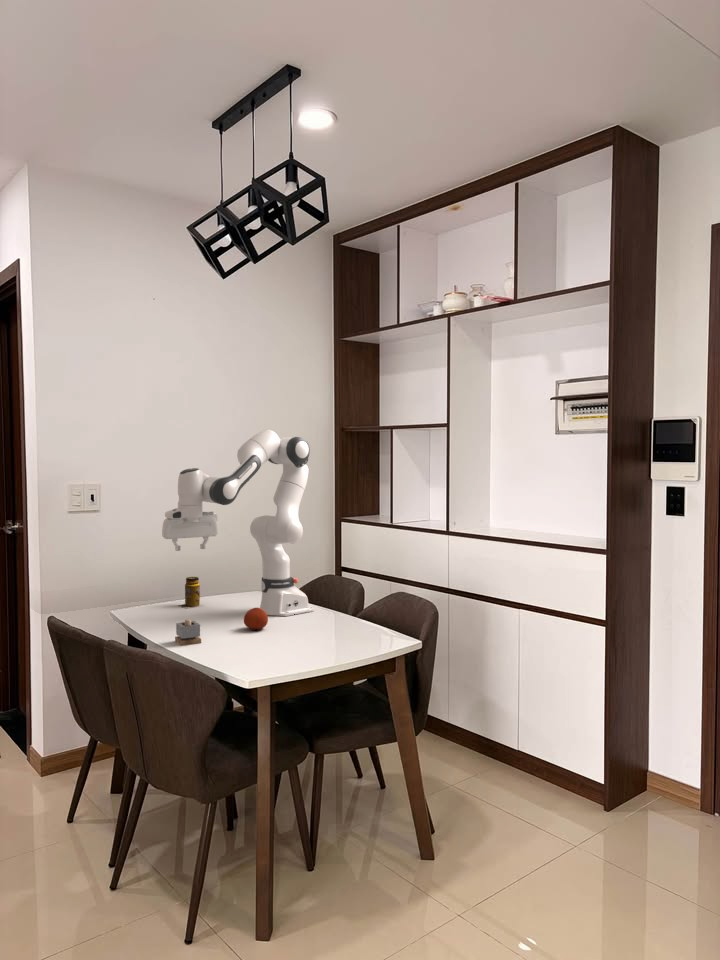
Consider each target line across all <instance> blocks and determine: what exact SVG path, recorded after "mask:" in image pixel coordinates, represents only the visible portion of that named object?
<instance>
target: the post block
mask: <svg viewBox="0 0 720 960" xmlns="http://www.w3.org/2000/svg"><path fill="white" fill-rule="evenodd" d="M191 621H192V620H191V619H185V620H184V622H185V626H187V625H191ZM174 641H175V643H177V644H178V645H179V646H181V647H182V646H190V645H195V644H196V645H197V644H201V643H202V638H201V636H198V637H191V638H183V639H182V638H180V637H179V636H178V635H176V636H175V637H174Z"/></svg>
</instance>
